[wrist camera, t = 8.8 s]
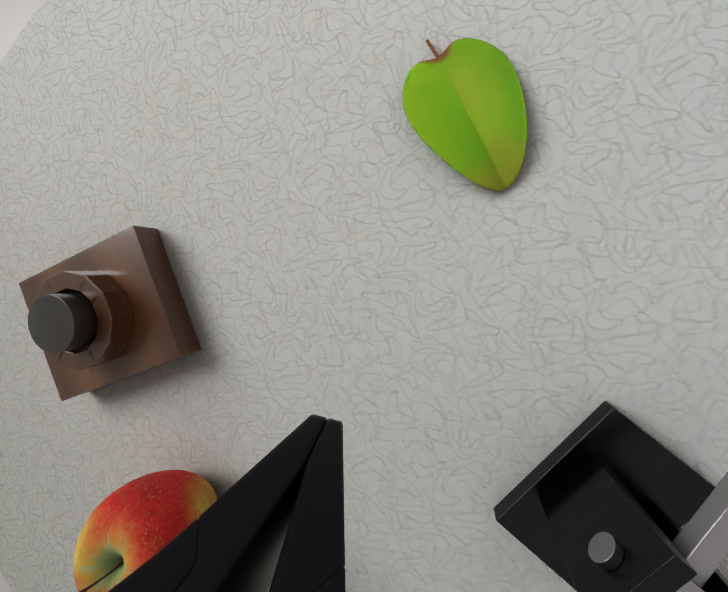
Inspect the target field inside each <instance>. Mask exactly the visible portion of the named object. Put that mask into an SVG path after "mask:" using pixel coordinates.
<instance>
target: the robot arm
mask: <svg viewBox="0 0 728 592" xmlns="http://www.w3.org/2000/svg"><path fill="white" fill-rule="evenodd" d="M344 566H345V543H344V479H343V424H342V422H341V421H337V420H333V419H328V420H327V419H326V418H325V417H322V416H318V415H311V416H310V417H308V418H307V419H306V420H305V421H304V422H303V423H302V424H301V425H300V426H298V427H297V428H296V429H295V430H294V431H293V432H292V433H291V434H290V435H288V436H287V437H286V438H285V439H284V440H283V441H282V442H281V443H280V444H279V445H277V446H276V447H275V448H274V449H273V450H272V451H271V452H270V453H269V454H267V455H266V456H265V457H264V458H263V459H262V460H261V461H260V462H259V463H257V464H256V465H255V466H254V467H253V468H252V469H251V470H250V471H249V472H248V473H246V474H245V475H244V476H243V477H242V478H241V479H240V480H239V481H238V482H236V483H235V484H234V485H233V486H232V487H231V488H230V489H229V490H228V491H226V492H225V493H224V494H223V495H222V496H221V497H220V498H219V499H218V500H217V501H215V502H214V503H213V504H212V505H211V506H210V507H209V508H208V509H207V510H205V511H204V512H203V513H202V514H201V515H200V516H199V519H195V520H194V521H193V522H192V523H191V524H190V525H189V526H188V527H186V528H185V529H184V530H183V531H182V532H181V533H180V534H179V535H177V536H176V537H175V538H174V539H173V540H172V541H170V542H169V543H168V544H167V545H166V546H165V547H164V548H162V549H161V550H160V551H159V552H158V553H156V554H155V555H154V556H153V557H151V558H150V559H149V560H148V561H146V562H145V563H144V564H143V565H141V566H140V567H139V568H137V569H136V570H135V571H134V572H132V573H131V574H130V575H129V576H127V577H126V578H125V579H123V580H122V581H121V582H119V583H118V584H117V585H115V586H114V587H113V588H111V589H110V590H109V591H107V592H268V589H269V587H270V590H269V592H345V568H344ZM270 585H271V586H270Z"/></svg>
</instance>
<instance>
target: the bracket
mask: <svg viewBox="0 0 728 592" xmlns="http://www.w3.org/2000/svg"><path fill="white" fill-rule="evenodd" d="M714 489H715V486H713V485H712V484H711V483H710V482H708V481H707V480H706V479H705V478H703V477H702V476H701V475H700V474H698V473H697V472H696V471H694V470H693V469H692V468H691V467H689V466H688V465H687V464H686V463H684V462H683V461H682V460H680V459H679V458H678V457H677V456H675V455H674V454H673V453H672V452H670V451H669V450H668V449H666V448H665V447H664V446H663V445H661V444H660V443H659V442H658V441H656V440H655V439H654V438H652V437H651V436H650V435H649V434H647V433H646V432H645V431H644V430H642V429H641V428H640V427H638V426H637V425H636V424H635V423H633V422H632V421H631V420H630V419H628V418H627V417H626V416H624V415H623V414H622V413H621V412H619V411H618V410H617V409H616V408H614V407H613V406H612V405H610V404H609V403H608V402H607V401H604V402H603V403H602V404H601V405H600V406H599V407H598V408H597V409H596V410H595V411H594V412H593V413H592V414H591V415H590V416H589V417H588V418H587V419H586V420H585V421H584V422H583V423H582V424H580V425H579V426H578V427H577V428H576V429H575V430H574V431H573V432H572V433H571V434H570V435H569V436H568V437H567V438H566V439H565V440H564V441H563V442H562V443H561V444H560V445H559V446H558V447H557V448H556V449H555V450H554V451H553V452H552V453H550V454H549V455H548V456H547V457H546V458H545V459H544V460H543V461H542V462H541V463H540V464H539V465H538V466H537V467H536V468H535V469H534V470H533V471H532V472H531V473H530V474H529V475H528V476H527V477H526V478H525V479H524V480H523V481H522V482H521V483H519V484H518V485H517V486H516V487H515V488H514V489H513V490H512V491H511V492H510V493H509V494H508V495H507V496H506V497H505V498H504V499H503V500H502V501H501V502H500V503H499V504H498V505H497V506H496V507H495V508H494V512H495V517H496V520H497V522H499V523H500V524H501V525H502V526H503V527H504V528H505V529H507V530H508V531H509V532H510V533H511V534H512V535H513V536H515V537H516V538H517V539H518V540H519V541H520V542H521V543H523V544H524V545H525V546H526V547H527V548H528V549H529V550H531V551H532V552H533V553H534V554H535V555H536V556H537V557H539V558H540V559H541V560H542V561H543V562H544V563H546V564H547V565H548V566H549V567H550V568H551V569H552V570H554V571H555V572H556V573H557V574H558V575H559V576H560V577H562V578H563V579H564V580H565V581H566V582H567V583H568V584H570V585H571V586H572V587H573V588H574V589H575V590H576V591H577V592H676V591H677V590H679V589H680V588H681V587H682V586H684V585H685V584H686V583H688V582H689V581H690V580H691V579H693V578H694V577H695V576H697V572H696V571H695V570H694V569H693V567H692V566H691V565H690V564H689V563H688V561H687V560H686V559H685V558H684V557H683V555H682V554H681V553H680V552H679V551H678V549H677V548H676V547H675V546H674V545H673V543H672V541H673V540H674V539H675V537H676V536H677V535H678V534H679V532H680V531H681V530H682V529H681V528H680V527H682V526H683V525H684V524H685V523H686V522H688V521H689V520H690V519H691V517H692V516H693V515H694V514H695V512H696V511H697V510H698V509H699V507H700V506H701V505H702V504H703V502H704V501H705V500H706V499H707V497H708V496H709V495H710V494H711V492H712V491H713V490H714ZM700 588H701V589H702V590H704V591H705V592H728V580H727V579H726V577H725V576H724V575H723V574H722V573H721V572H720V571H719V570H718V569H716V570H715V572H714V573H713V574H712V575H711V577H710V578H709V579H708V580H707V582H706V583H705V584H704V585H703V587H700Z"/></svg>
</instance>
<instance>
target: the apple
mask: <svg viewBox="0 0 728 592" xmlns="http://www.w3.org/2000/svg"><path fill="white" fill-rule="evenodd" d="M215 501H217V496H216V493H215V491H214V489H213V488H212V486H211V485H210V484H209V483H208V482H207V481H206V480H205V479H204V478H202V477H201V476H199V475H197V474H194V473H191V472H187V471H182V470H166V471H159V472H154V473H151V474H147V475H145V476H142V477H140V478H138V479H135V480H133V481H131V482H129V483H127V484H125V485H124V486H122V487H121V488H119V489H118V490H116V491H115V492H113V493H112V494H111V495H109V496H108V497H107V498H106V499H105V500H104V501H103V502H102V503H101V504H100V505H99V506H98V507H97V508H96V509H95V510H94V511H93V512H92V514H91V515H90V517H89V518H88V520H87V521H86V523H85V525H84V527H83V529H82V531H81V533H80V535H79V538H78V541H77V544H76V548H75V553H74V563H73V572H74V578H75V582H76V586H77V589H78V591H79V592H107V591H109V590H110V589H111V588H113V587H114V586H115V585H117V584H118V583H119V582H121V581H122V580H123V579H125V578H126V577H127V576H129V575H130V574H131V573H132V572H134V571H135V570H136V569H137V568H139V567H140V566H141V565H143V564H144V563H145V562H146V561H148V560H149V559H150V558H151V557H153V556H154V555H155V554H156V553H158V552H159V551H160V550H161V549H162V548H164V547H165V546H166V545H167V544H168V543H169V542H170V541H172V540H173V539H174V538H175V537H176V536H177V535H179V534H180V533H181V532H182V531H183V530H184V529H185V528H186V527H188V526H189V525H190V524H191V523H192V522H193V521H194V520H195V519H199V516H200V515H201V514H202V513H203V512H204V511H205V510H207V509H208V508H209V507H210V506H211V505H212V504H213V503H214V502H215Z"/></svg>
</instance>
